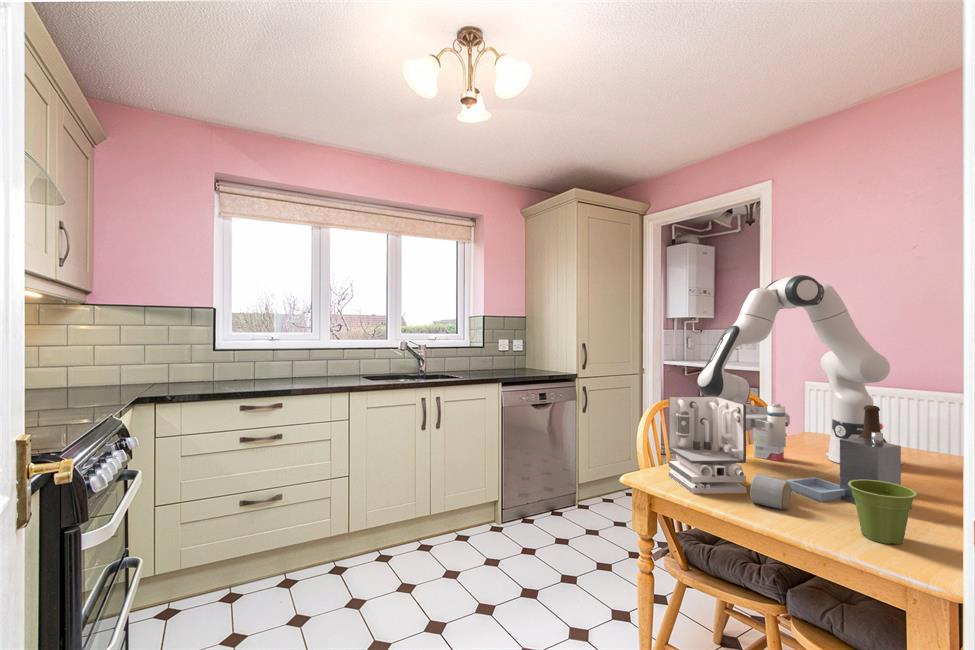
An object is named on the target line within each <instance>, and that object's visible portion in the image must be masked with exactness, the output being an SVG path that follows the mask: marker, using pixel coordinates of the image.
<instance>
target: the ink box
mask: <svg viewBox="0 0 975 650" xmlns="http://www.w3.org/2000/svg"><path fill="white" fill-rule="evenodd" d="M784 449H785V447H772V446H769V445H768V428H765V427H761V428H753V457H754V458H757V457H759V459H763V458H765V459H764V460H768V459H771V460H770V461H774V460H777V461H776V462H782V461H783V460H784V459H785V458H784V457H785V451H784Z"/></svg>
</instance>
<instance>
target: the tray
mask: <svg viewBox="0 0 975 650" xmlns="http://www.w3.org/2000/svg"><path fill="white" fill-rule="evenodd" d="M785 482H787V483H789V484H790V486H791V489H792V491H793V493H795V494H799V495H800V494H801V496H804V497H806V498H810V499H811V500H813V501H817V502H819V503H827V502H834V501H842V500H841V496H845V490H844V489H840V484H838V483H835V482H831V481H829V480H825V479H822V478H820V477H815V476H813V477H805V478H795V479H794V478H793V479H786V480H785Z"/></svg>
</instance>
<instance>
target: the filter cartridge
mask: <svg viewBox="0 0 975 650" xmlns="http://www.w3.org/2000/svg"><path fill="white" fill-rule="evenodd" d="M766 407H767V421H769V422H772V423H773V425H772V426H773V427H772V428H768V445H769V446H772V447H784V448H786V447H787V444H786V443H787V438H786V437H787V435H786V431H787V430H786V428H787V427H786V425H785V416H786V413H787V412H786V406H782V405H781V404H780V403H771V405H767V406H766Z"/></svg>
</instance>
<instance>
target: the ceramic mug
mask: <svg viewBox="0 0 975 650" xmlns="http://www.w3.org/2000/svg"><path fill="white" fill-rule="evenodd" d="M749 492H750V493H749V494H750V495H749V496H750V501H751V502H752V503H754V504H756V505H761V506H765V507H769V508H773V509H778V510H783V511H784V510H785V511H786V510H787V509H788V508H789V507H790V506H791V505H790V504H791V501H792V489H791V486H790V484H789V483H787V482H786V480H785V481H784V480H783V479H778V478H774V477H771V476H767V475H765V474H760V473H755V474H754V476H753V477H752V480H751V484H750V491H749Z"/></svg>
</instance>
